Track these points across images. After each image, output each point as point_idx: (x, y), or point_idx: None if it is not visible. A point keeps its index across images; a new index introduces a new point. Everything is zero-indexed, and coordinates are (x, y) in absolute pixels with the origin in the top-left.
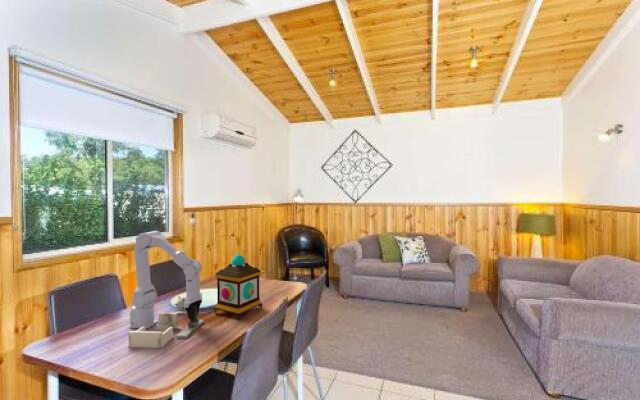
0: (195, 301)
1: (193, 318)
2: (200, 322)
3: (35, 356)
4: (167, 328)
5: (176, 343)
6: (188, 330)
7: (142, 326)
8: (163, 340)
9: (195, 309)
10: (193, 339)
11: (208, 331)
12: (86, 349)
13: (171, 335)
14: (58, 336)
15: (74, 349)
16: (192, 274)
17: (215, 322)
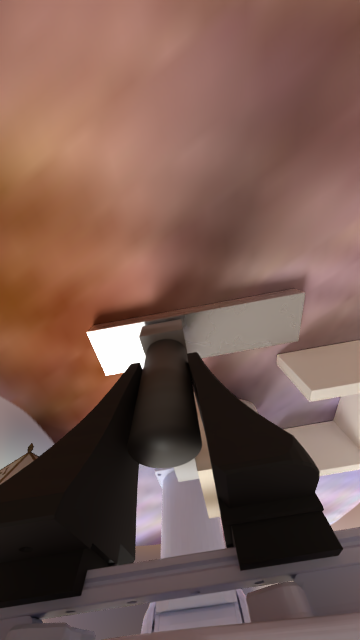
0: (303, 619)
1: (198, 355)
2: (127, 325)
3: (347, 512)
4: (255, 409)
5: (341, 303)
6: (239, 323)
7: None
8: None
9: (207, 406)
10: (307, 244)
11: (198, 214)
12: (334, 480)
13: (298, 360)
14: None
15: (329, 493)
16: None
17: (60, 251)
